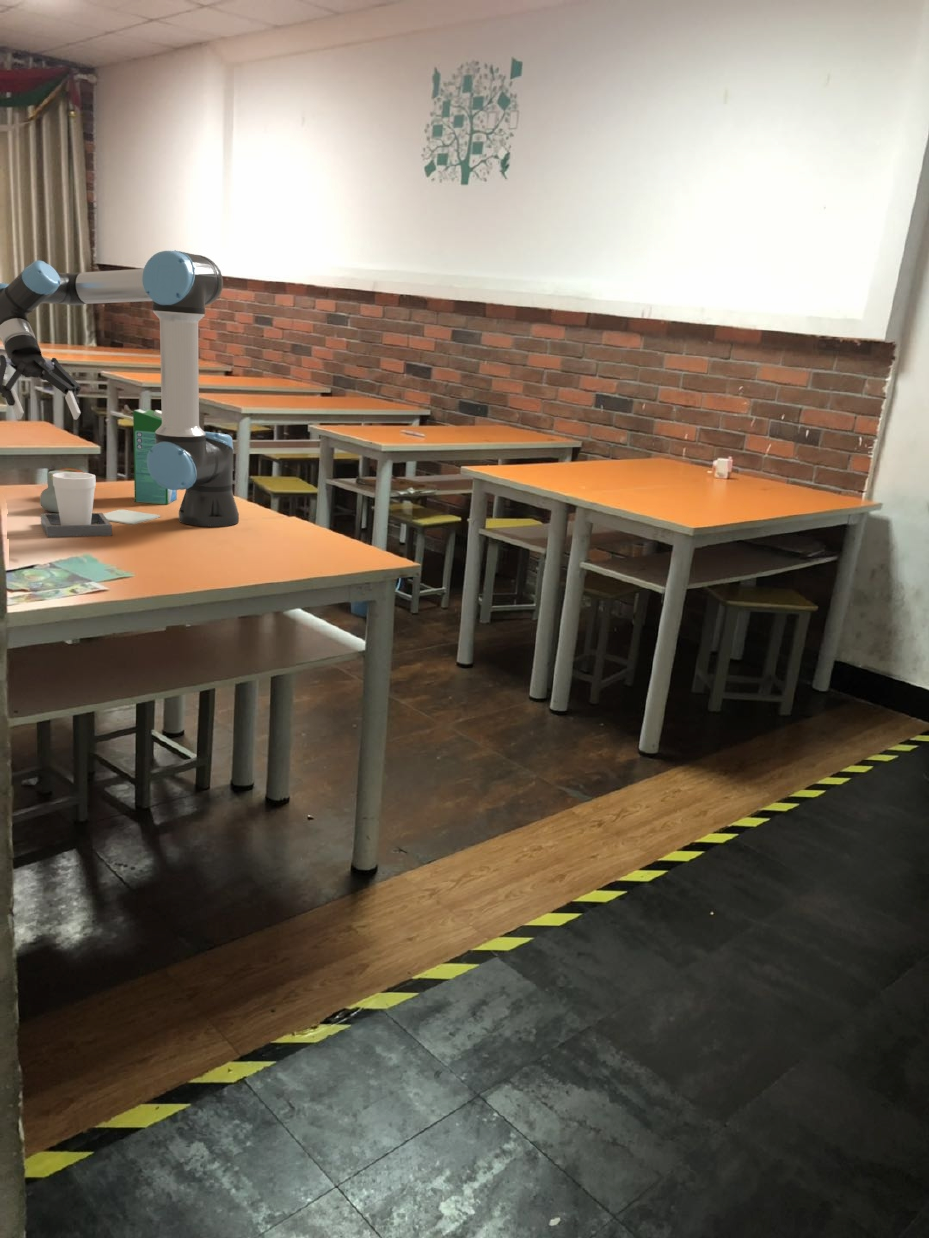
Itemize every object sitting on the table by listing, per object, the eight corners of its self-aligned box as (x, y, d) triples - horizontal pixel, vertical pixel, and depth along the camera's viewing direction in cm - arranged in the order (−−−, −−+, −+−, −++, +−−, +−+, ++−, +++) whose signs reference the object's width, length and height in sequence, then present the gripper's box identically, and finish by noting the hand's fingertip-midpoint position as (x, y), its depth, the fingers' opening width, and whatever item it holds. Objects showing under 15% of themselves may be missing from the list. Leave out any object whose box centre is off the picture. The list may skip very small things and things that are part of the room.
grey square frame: (102, 522, 238) (102, 512, 237) (111, 535, 226) (111, 525, 225) (40, 524, 231) (40, 513, 230) (47, 537, 219) (47, 526, 218)
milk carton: (167, 504, 264) (166, 413, 257) (134, 502, 264) (132, 410, 257) (177, 499, 273) (176, 410, 266) (145, 496, 273) (144, 407, 265)
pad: (160, 517, 249) (160, 515, 249) (133, 524, 238) (133, 523, 238) (120, 510, 252) (120, 509, 252) (91, 518, 241) (91, 516, 241)
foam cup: (54, 525, 231) (52, 471, 227) (95, 525, 234) (94, 472, 231) (55, 534, 222) (53, 478, 219) (98, 534, 226) (96, 479, 222)
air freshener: (73, 516, 242) (72, 477, 239) (38, 514, 240) (36, 474, 237) (83, 508, 252) (81, 470, 249) (49, 506, 250) (48, 468, 248)
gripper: (65, 356, 242) (94, 425, 238) (-39, 350, 224) (-10, 425, 220) (75, 336, 238) (105, 407, 233) (-30, 329, 219) (0, 405, 215)
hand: (49, 416), depth 226 cm, fingers open, 13 cm apart
